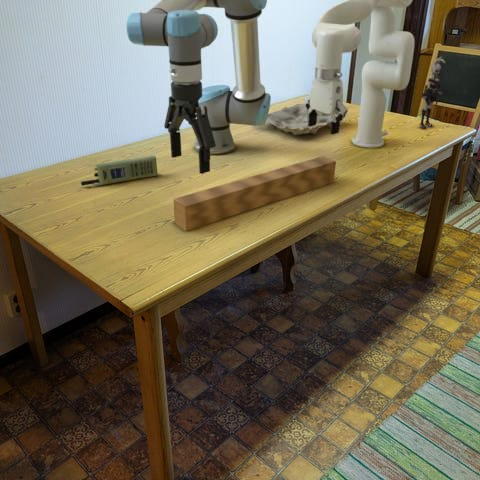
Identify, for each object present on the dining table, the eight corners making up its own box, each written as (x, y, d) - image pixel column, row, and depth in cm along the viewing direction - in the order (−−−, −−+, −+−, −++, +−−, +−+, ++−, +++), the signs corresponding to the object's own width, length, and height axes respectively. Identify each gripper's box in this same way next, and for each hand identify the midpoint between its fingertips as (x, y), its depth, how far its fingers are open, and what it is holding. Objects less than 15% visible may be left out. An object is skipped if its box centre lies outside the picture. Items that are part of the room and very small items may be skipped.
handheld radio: (158, 176, 170) (83, 189, 160) (155, 173, 172) (80, 186, 162) (156, 157, 167) (79, 169, 157) (153, 154, 169) (77, 166, 159)
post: (320, 176, 172) (322, 155, 168) (333, 182, 168) (336, 161, 164) (174, 222, 141) (173, 198, 137) (186, 231, 137) (185, 206, 133)
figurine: (421, 131, 217) (435, 58, 202) (409, 128, 221) (422, 56, 206) (438, 124, 226) (453, 54, 211) (426, 121, 230) (440, 52, 215)
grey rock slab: (245, 130, 217) (303, 143, 199) (245, 116, 214) (304, 128, 197) (296, 115, 242) (351, 125, 225) (297, 102, 239) (353, 111, 222)
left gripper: (147, 73, 128) (153, 153, 139) (202, 94, 111) (205, 183, 122) (172, 70, 132) (177, 147, 143) (229, 89, 115) (230, 175, 126)
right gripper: (358, 77, 146) (352, 134, 155) (315, 66, 158) (312, 120, 167) (340, 81, 142) (335, 139, 151) (298, 70, 154) (295, 125, 163)
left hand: (190, 164), depth 132 cm, fingers open, 13 cm apart
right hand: (323, 129), depth 159 cm, fingers open, 9 cm apart
